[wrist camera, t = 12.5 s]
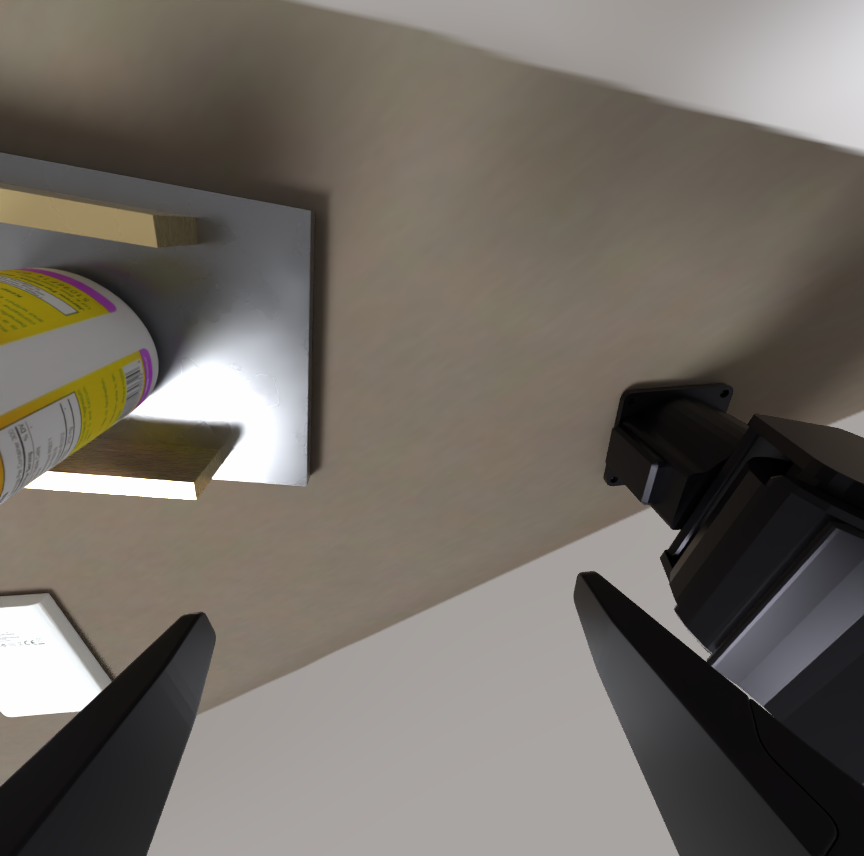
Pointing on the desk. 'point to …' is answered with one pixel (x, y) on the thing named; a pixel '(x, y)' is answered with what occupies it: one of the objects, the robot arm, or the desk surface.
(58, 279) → the supplement bottle
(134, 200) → the wooden walled tray
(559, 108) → the desk surface
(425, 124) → the desk surface
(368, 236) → the desk surface
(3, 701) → the external hard drive
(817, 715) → the robot arm
